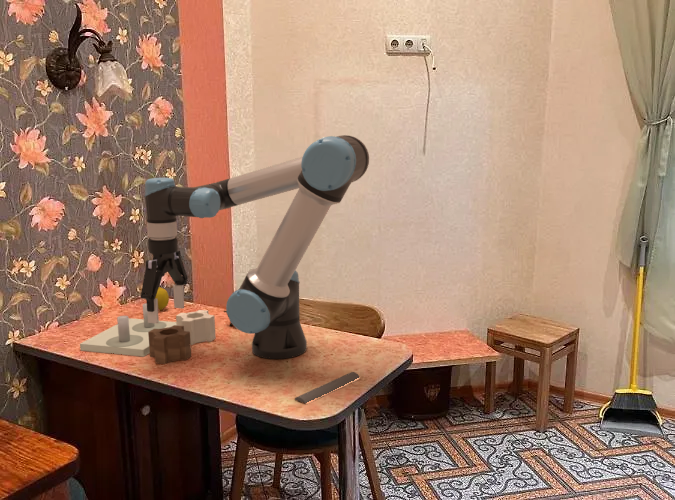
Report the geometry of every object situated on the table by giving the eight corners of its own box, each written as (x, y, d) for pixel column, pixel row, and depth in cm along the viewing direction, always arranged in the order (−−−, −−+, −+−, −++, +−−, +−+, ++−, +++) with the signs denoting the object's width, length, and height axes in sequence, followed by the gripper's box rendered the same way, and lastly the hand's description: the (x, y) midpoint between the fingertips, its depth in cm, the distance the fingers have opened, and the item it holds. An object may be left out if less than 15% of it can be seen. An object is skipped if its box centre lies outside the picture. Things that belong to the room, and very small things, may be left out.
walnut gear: (197, 351, 184) (196, 327, 183) (178, 365, 174) (177, 340, 172) (163, 347, 187) (161, 324, 185) (142, 361, 177) (140, 336, 175)
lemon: (149, 312, 221) (148, 289, 219) (156, 307, 226) (155, 284, 224) (165, 312, 220) (163, 289, 218) (172, 308, 225) (170, 285, 223)
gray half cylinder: (293, 402, 152) (292, 394, 152) (348, 376, 167) (348, 369, 166) (306, 407, 150) (306, 400, 149) (361, 381, 164) (361, 374, 164)
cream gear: (221, 333, 198) (220, 311, 197) (204, 346, 188) (203, 322, 186) (188, 331, 201) (187, 309, 200) (170, 343, 191) (169, 319, 189)
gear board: (186, 329, 203) (184, 300, 201) (143, 356, 180) (141, 325, 178) (128, 324, 208) (126, 296, 206) (80, 350, 186) (77, 319, 184)
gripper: (173, 228, 186) (177, 301, 191) (122, 245, 163) (128, 328, 167) (197, 229, 184) (201, 303, 189) (149, 247, 161) (154, 330, 165)
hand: (166, 315), depth 178 cm, fingers open, 13 cm apart
